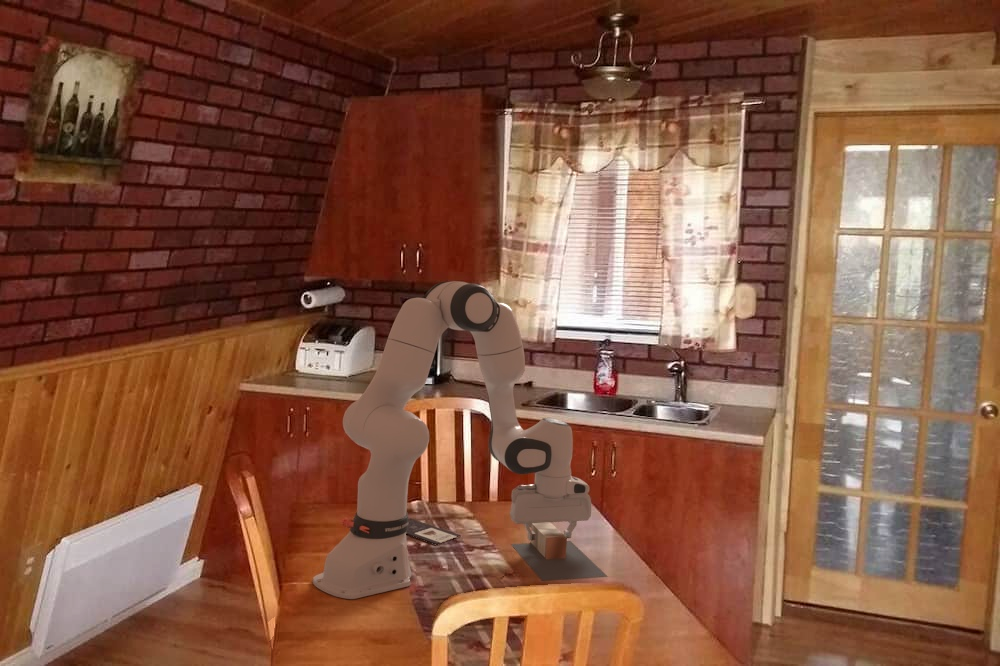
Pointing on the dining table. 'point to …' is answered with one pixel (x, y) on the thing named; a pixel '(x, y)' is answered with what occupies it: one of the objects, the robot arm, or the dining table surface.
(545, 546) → the ash block
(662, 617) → the dining table surface
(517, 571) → the dining table surface
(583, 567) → the rubber mat
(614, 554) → the dining table surface
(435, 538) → the chocolate bar
